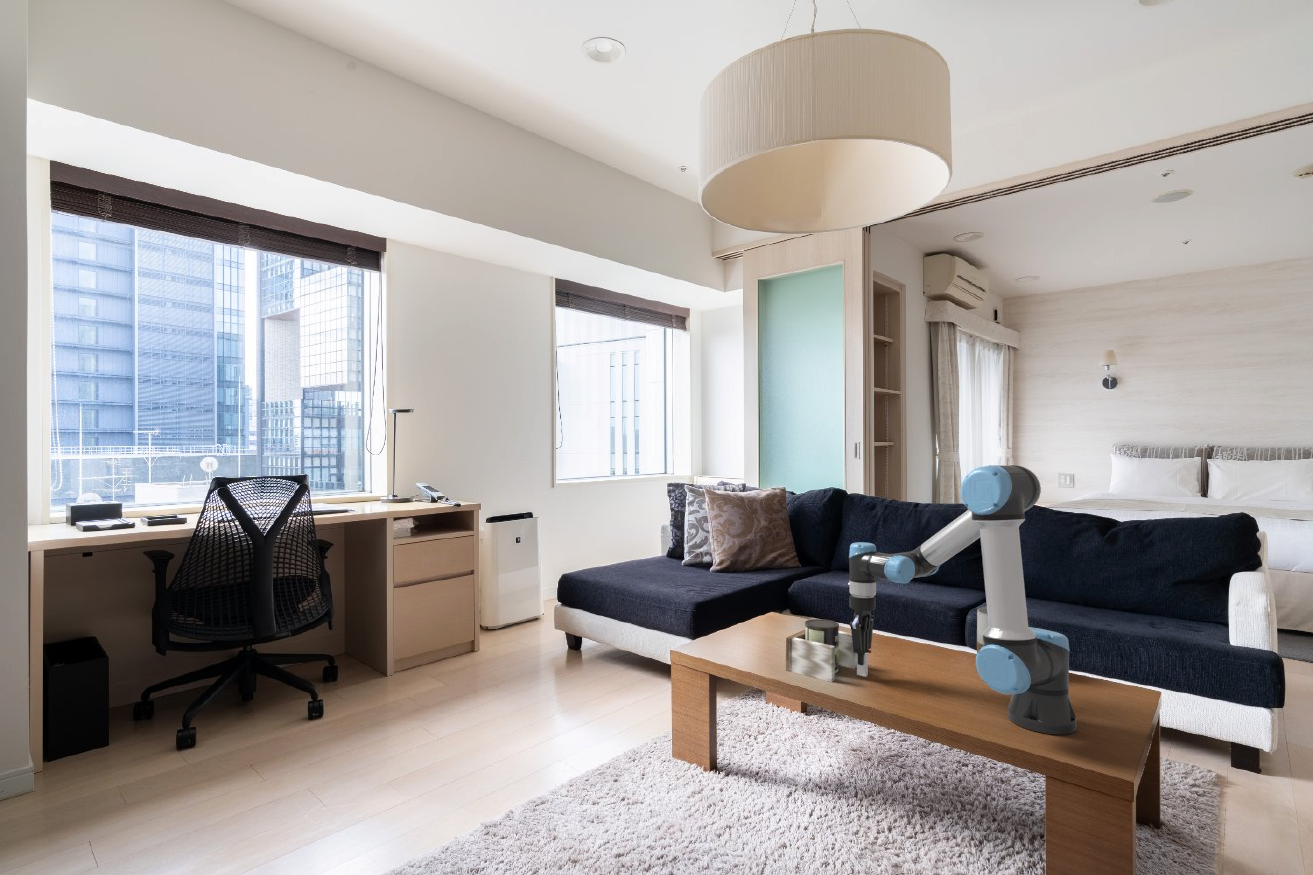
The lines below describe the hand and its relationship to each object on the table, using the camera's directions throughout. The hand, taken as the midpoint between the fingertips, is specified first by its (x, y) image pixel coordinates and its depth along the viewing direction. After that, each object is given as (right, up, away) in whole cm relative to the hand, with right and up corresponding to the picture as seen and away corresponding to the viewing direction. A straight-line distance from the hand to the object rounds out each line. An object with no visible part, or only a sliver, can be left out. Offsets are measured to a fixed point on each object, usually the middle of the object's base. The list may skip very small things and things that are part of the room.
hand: (862, 674), depth 199 cm
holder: (-9, -1, +8) cm, 12 cm away
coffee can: (-10, -1, +8) cm, 13 cm away
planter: (+46, -2, +10) cm, 47 cm away
